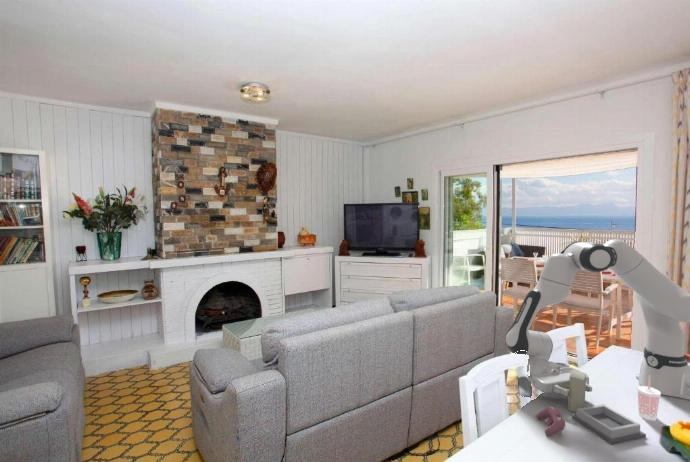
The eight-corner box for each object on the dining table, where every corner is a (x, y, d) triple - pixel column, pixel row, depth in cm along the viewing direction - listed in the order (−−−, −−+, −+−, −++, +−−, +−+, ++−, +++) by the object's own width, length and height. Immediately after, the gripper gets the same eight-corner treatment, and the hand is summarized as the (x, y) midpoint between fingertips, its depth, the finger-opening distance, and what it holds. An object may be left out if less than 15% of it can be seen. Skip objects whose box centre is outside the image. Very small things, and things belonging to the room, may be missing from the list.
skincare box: (570, 402, 130) (571, 369, 129) (585, 407, 127) (586, 373, 126) (567, 410, 125) (568, 375, 124) (583, 415, 122) (584, 379, 121)
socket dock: (602, 412, 124) (602, 402, 124) (645, 437, 110) (646, 426, 110) (571, 418, 120) (571, 407, 120) (612, 444, 107) (612, 433, 107)
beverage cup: (658, 414, 122) (660, 374, 121) (661, 424, 117) (663, 381, 116) (634, 409, 125) (636, 369, 124) (636, 418, 120) (638, 376, 119)
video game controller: (558, 442, 110) (571, 424, 109) (544, 434, 111) (556, 415, 110) (547, 423, 120) (558, 406, 119) (534, 416, 121) (544, 399, 120)
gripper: (524, 369, 135) (554, 386, 122) (569, 362, 140) (603, 378, 127) (524, 385, 136) (554, 405, 122) (568, 378, 141) (602, 396, 128)
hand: (579, 391), depth 125 cm, fingers open, 8 cm apart
